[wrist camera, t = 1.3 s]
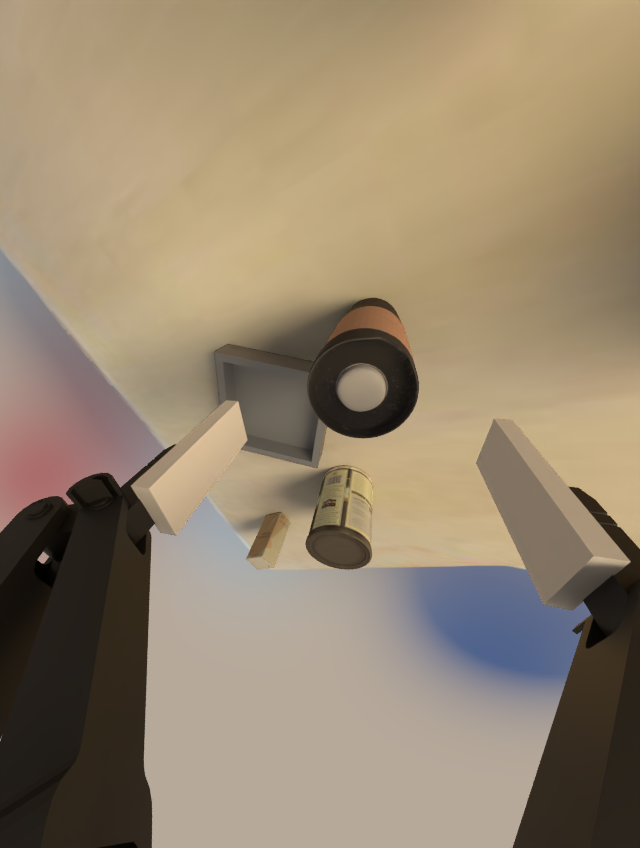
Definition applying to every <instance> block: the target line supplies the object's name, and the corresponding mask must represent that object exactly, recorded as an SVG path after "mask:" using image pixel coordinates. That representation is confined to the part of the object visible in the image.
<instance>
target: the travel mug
mask: <svg viewBox="0 0 640 848" xmlns="http://www.w3.org/2000/svg"><path fill="white" fill-rule="evenodd" d="M418 392H419V381H418V375H417V372H416V368H415V365H414V361H413V357H412V354H411V350H410V347H409V343H408V340H407V336H406V333H405V330H404V327H403V325H402V323H401V321H400V319H399V317H398V315H397V313H396V311H395V310H394V308H393V307H392V306H391V305H390V304H389V303H388V302H386V301H384V300H382V299H378V298H369V299H365V300H362V301H360V302H358V303H357V304H355V305H354V306H353V307H352V308H351V309H350V310H349V311H348V312H347V314H346V315H345V316H344V317H343V318H342V319H341V320H340V322H339V323H338V325H337V326H336V328H335V329H334V331H333V333H332V334H331V336H330V337H329V339H328V341H327V342H326V344H325V345H324V347H323V349H322V350H321V352H320V353H319V355H318V356H317V358H316V360H315V361H314V363H313V365H312V367H311V369H310V372H309V376H308V381H307V393H308V398H309V402H310V405H311V407H312V409H313V411H314V413H315V414H316V416H317V417H318V418H319V419H320V420H321V421H322V422H323V423H324V424H325V425H326V426H327V427H329V428H330V429H332V430H333V431H335V432H337V433H340V434H342V435H345V436H349V437H354V438H372V437H378V436H381V435H384V434H387V433H389V432H391V431H393V430H394V429H396V428H397V427H399V426H400V425H401V424H402V423H403V422H405V420H406V419H407V418H408V417H409V416H410V414H411V413H412V411H413V409H414V407H415V405H416V402H417V398H418Z"/></svg>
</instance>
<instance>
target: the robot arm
mask: <svg viewBox="0 0 640 848" xmlns="http://www.w3.org/2000/svg"><path fill="white" fill-rule="evenodd" d="M246 442H247V436H246V432H245V427H244V423H243V419H242V415H241V411H240V407H239V402H238V401H229V400H226V401H225V402H224V403H222V404H221V405H220V406H219V407H218V408H217V409H216V410H215V411H213V412H212V413H211V414H210V415H209V416H208V417H207V418H206V419H205V420H203V421H202V422H201V423H200V424H199V425H198V426H197V427H196V428H195V429H193V430H192V431H191V432H190V433H189V434H188V435H187V436H186V437H184V438H183V439H182V440H181V441H180V442H179V443H178V444H177V445H176V444H174V445H172V446H171V447H169V448H167V449H165V450H163V451H162V452H161V453H160V454H159V455H158V456H157V457H155V459H154V460H152V461H151V462H150V463H148V465H147V466H145V467H144V468H143V469H141V470H140V471H139V472H138V473H137V474H136V475H135V476H133V477H132V478H131V479H130V480H129V481H128V482H127V483H125V484H124V485H123V486H122V487H121V488H120V487H119V485H118V484H117V482H116V481H115V479H114V478H113V476H112V475H110V474H109V473H99V474H95V475H91V476H89V477H86V478H84V479H82V480H80V481H79V482H77V483H75V484H74V485H73V486H72V487H70V488H69V490H68V491H67V493H66V495H67V496H68V497H69V498H70V499H71V500H72V501H73V502H74V504H72V505H68V504H67V503H66V502H65V501H64V500H63V499H62V498H61V497H58V496H53V497H48V498H44V499H41V500H38V501H37V502H34V503H32V504H30V505H29V506H27V507H26V508H24V509H23V510H22V511H21V512H19V513H18V514H17V515H16V516H15V518H13V520H12V521H11V522H10V523H9V524H8V525H7V526H6V527H5V528H4V530H3V531H2V532H1V533H0V738H1V736H2V738H1V741H0V848H152V801H151V795H150V788H149V785H148V782H147V780H146V777H145V772H144V735H145V706H146V703H145V702H146V676H147V648H148V620H149V619H148V618H149V592H150V563H151V533H150V531H149V530H150V528H151V527H152V526H153V525H154V524H155V525H156V527H157V528H158V530H159V531H160V532H161V533H165V534H170V535H177V533H179V531H180V530H181V529H182V527H183V526H184V525H185V523H186V522H187V521H188V519H189V518H190V516H191V515H192V514H193V513H194V511H195V510H196V508H197V507H198V506H199V504H200V503H201V502H202V500H203V499H204V498H205V496H206V495H207V494H208V492H209V491H210V490H211V488H212V487H213V486H214V484H215V483H216V482H217V480H218V479H219V478H220V476H221V475H222V474H223V472H224V471H225V470H226V468H227V467H228V466H229V464H230V463H231V462H232V460H233V459H234V458H235V456H236V455H237V454H238V452H239V451H240V450H241V448H242V447H243V446H244V444H245V443H246ZM476 464H477V466H478V468H479V470H480V472H481V474H482V476H483V478H484V481H485V483H486V485H487V487H488V489H489V491H490V493H491V495H492V497H493V499H494V502H495V504H496V506H497V508H498V510H499V512H500V514H501V516H502V518H503V520H504V523H505V525H506V527H507V529H508V531H509V533H510V535H511V537H512V539H513V541H514V544H515V546H516V548H517V550H518V552H519V554H520V556H521V558H522V560H523V563H524V565H525V567H526V569H527V571H528V573H529V575H530V577H531V579H532V581H533V583H534V586H535V588H536V590H537V592H538V594H539V596H540V598H541V600H542V602H543V605H547V606H553V607H557V608H563V609H568V610H574V609H575V608H576V607H577V606H578V605H580V604H581V603H582V602H583V601H584V603H585V604H586V606H587V607H588V609H589V611H590V613H591V614H592V615H590V616H589V617H588V618H586V619H585V620H584V621H582V622H581V623H580V624H578V625H577V626H576V627H575V628H574V629H573V632H575V633H576V634H578V633H579V632H581V631H582V630H583V631H582V634H581V637H580V640H579V643H578V646H577V649H576V652H575V655H574V658H573V662H572V665H571V668H570V671H569V674H568V678H567V681H566V683H565V686H564V690H563V693H562V696H561V699H560V702H559V706H558V708H557V712H556V715H555V718H554V721H553V724H552V727H551V730H550V733H549V736H548V740H547V743H546V746H545V749H544V752H543V755H542V758H541V761H540V764H539V767H538V770H537V774H536V777H535V780H534V783H533V786H532V789H531V792H530V795H529V798H528V801H527V805H526V808H525V811H524V814H523V817H522V820H521V823H520V826H519V829H518V833H517V836H516V839H515V842H514V845H513V848H640V549H639V548H638V547H637V546H636V544H635V543H634V542H633V541H632V540H631V539H630V538H629V537H628V536H627V534H626V533H625V532H624V531H623V530H622V529H621V528H620V527H617V523H616V522H615V521H614V520H613V519H612V518H611V517H610V516H608V515H607V512H606V511H605V510H604V509H603V508H602V507H601V506H600V505H599V503H598V502H597V501H596V500H595V499H593V498H592V497H591V496H589V495H588V494H586V493H585V492H584V491H582V490H581V489H579V488H575V487H568V486H567V485H566V484H565V482H564V481H563V480H562V479H561V478H560V476H559V475H558V474H557V473H556V472H555V470H554V469H553V468H552V467H551V466H550V464H549V463H548V462H547V461H546V460H545V458H544V457H543V456H542V455H541V454H540V452H539V451H538V450H537V449H536V448H535V446H534V445H533V444H532V443H531V442H530V440H529V439H528V438H527V437H526V436H525V434H524V433H523V432H522V431H521V430H520V428H519V427H518V426H517V425H516V424H515V422H514V421H513V420H506V419H494V420H493V423H492V425H491V428H490V430H489V433H488V435H487V437H486V440H485V442H484V445H483V447H482V450H481V452H480V455H479V457H478V460H477V462H476ZM43 551H44V552H45V553H46V554H47V555H48V556H49V558H48V559H47V561H46V562H45V563H44V564H42V563H40V562H39V561H38V560H37V559H38V557H39V556H40V555H41V554H42V552H43ZM2 734H3V735H2Z"/></svg>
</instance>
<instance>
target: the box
mask: <svg viewBox="0 0 640 848" xmlns="http://www.w3.org/2000/svg"><path fill="white" fill-rule="evenodd" d="M289 525H290V522H289V521H288V520H287V518H286V517H285V516H284V515H283V514H282V513H281V512H280V513H275V514H271V515H267V516H266V517H265V519H264V521H263V524H262V526H261V528H260V530H259V532H258V534H257V536H256V539H255V541H254V543H253V545H252V547H251V549H250V552H249V554H248V556H247V558H246V559H247V560H248V561H249V562H250V563H251V564H252V565H253V566H254V567H256V568H257V569H267V568H274V566H275V564H276V561H277V558H278V555H279V553H280V550H281V547H282V544H283V542H284V539H285V536H286V533H287V531H288V528H289Z"/></svg>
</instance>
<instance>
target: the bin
mask: <svg viewBox="0 0 640 848" xmlns="http://www.w3.org/2000/svg"><path fill="white" fill-rule="evenodd" d="M214 355H215V364H216V373H217V382H218V391H219V400H220V405H221V404H222V403H224V402H225V401H226V400H229V401H238V402H239V407H240V411H241V415H242V419H243V423H244V427H245V432H246V436H247V442H246V443H245V444H244V446H243V447H242V448H241V450H245V451H249V452H253V453H257V454H261V455H265V456H269V457H273V458H277V459H281V460H285V461H289V462H293V463H297V464H301V465H305V466H309V467H313V468H318V465H319V461H320V458H321V455H322V450H323V445H324V439H325V434H326V429H327V426H326V425H325V424H324V423H323V422H322V421H321V420H320V419H319V418H318V417H317V416H316V414H315V413H314V411H313V409H312V407H311V405H310V402H309V398H308V393H307V381H308V376H309V372H310V369H311V367H312V365H313V363H314V362H312V361H307V360H302V359H297V358H292V357H288V356H283V355H278V354H273V353H269V352H264V351H259V350H254V349H250V348H245V347H240V346H235V345H231V344H228V345H226V346H224V347H222V348H220V349H218V350H217V351H215V352H214Z"/></svg>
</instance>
